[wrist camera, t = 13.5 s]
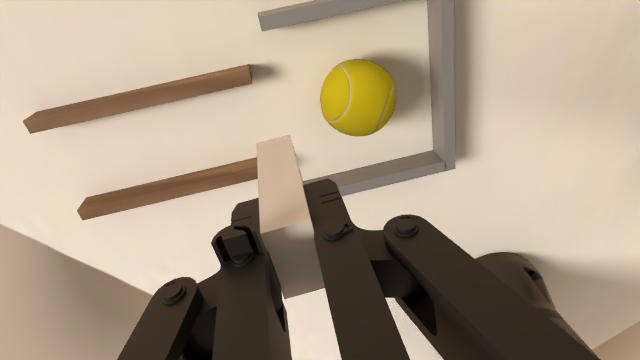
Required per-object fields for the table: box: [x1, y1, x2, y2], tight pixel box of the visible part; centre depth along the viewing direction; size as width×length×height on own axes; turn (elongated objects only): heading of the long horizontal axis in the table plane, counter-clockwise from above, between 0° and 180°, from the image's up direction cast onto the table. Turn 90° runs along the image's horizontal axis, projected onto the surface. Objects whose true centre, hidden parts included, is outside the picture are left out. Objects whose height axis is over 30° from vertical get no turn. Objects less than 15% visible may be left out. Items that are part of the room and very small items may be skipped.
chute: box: [23, 64, 258, 220], centre depth 38 cm, size 11×20×2 cm, turn 100°
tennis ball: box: [320, 59, 396, 136], centre depth 37 cm, size 7×7×7 cm
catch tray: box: [258, 0, 455, 196], centre depth 39 cm, size 19×17×3 cm
